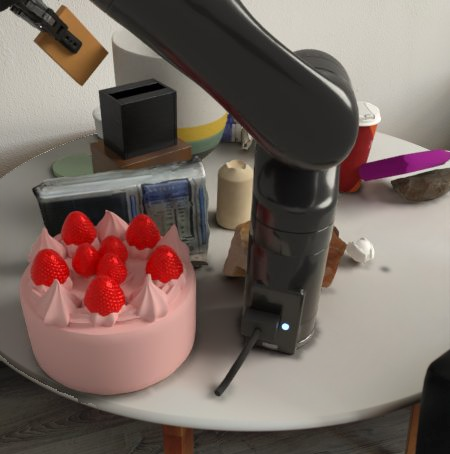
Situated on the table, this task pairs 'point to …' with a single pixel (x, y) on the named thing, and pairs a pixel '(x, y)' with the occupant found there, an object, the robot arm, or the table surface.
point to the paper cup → (359, 148)
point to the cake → (109, 303)
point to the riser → (110, 160)
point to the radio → (135, 200)
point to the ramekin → (98, 122)
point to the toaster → (138, 117)
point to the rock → (423, 185)
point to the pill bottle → (231, 130)
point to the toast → (71, 63)
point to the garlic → (360, 250)
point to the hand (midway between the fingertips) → (75, 46)
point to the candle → (234, 194)
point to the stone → (239, 249)
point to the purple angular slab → (403, 164)
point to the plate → (73, 165)
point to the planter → (186, 89)
